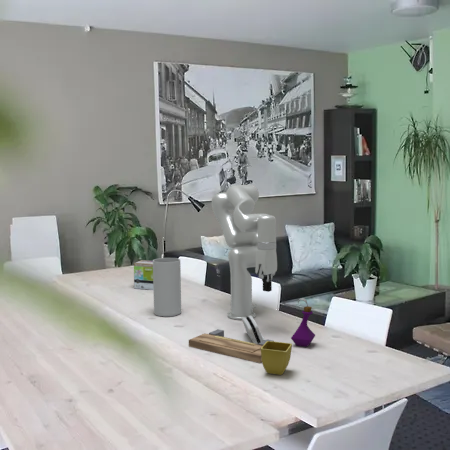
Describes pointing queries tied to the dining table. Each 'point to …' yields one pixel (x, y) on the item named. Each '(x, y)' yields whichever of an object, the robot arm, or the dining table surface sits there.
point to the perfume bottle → (304, 329)
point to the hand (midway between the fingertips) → (267, 290)
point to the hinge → (253, 330)
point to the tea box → (143, 275)
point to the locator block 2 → (264, 342)
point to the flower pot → (275, 356)
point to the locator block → (217, 333)
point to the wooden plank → (228, 347)
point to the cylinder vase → (167, 286)
